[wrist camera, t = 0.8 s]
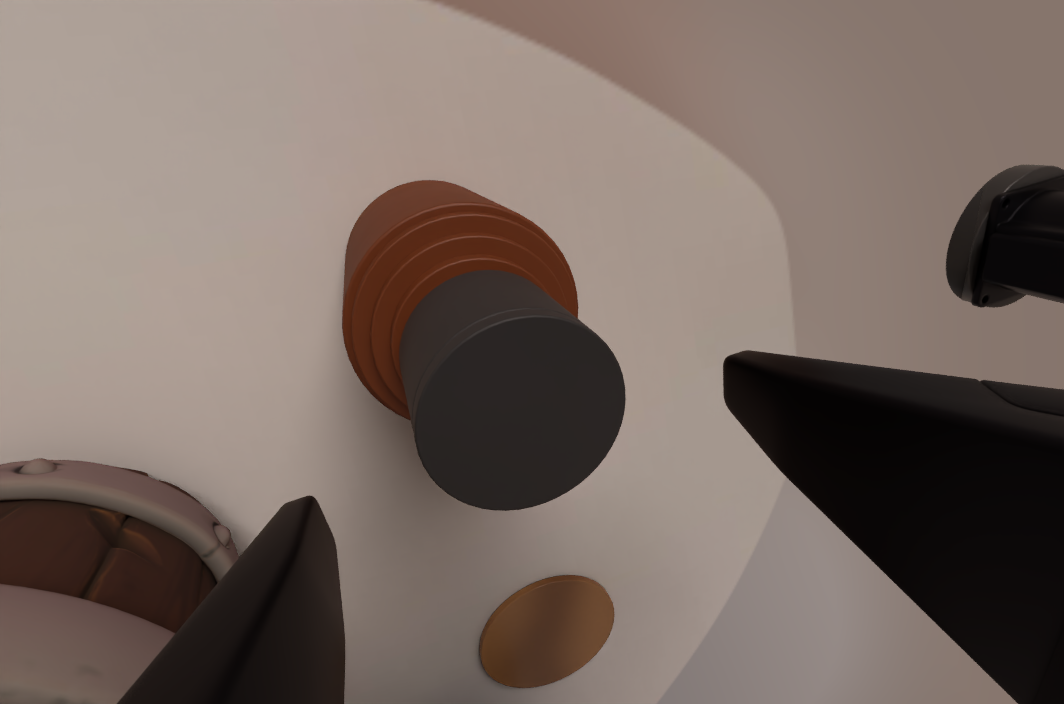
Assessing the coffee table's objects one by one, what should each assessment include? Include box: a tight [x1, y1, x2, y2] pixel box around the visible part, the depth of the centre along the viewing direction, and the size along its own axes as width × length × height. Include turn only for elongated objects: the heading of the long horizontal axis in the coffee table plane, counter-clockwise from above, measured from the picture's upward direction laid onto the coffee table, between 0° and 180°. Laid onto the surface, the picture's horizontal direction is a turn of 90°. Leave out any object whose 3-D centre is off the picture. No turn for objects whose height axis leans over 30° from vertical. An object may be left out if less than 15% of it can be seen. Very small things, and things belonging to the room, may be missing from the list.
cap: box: [399, 270, 625, 511], centre depth 11 cm, size 4×4×3 cm
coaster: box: [480, 575, 614, 688], centre depth 30 cm, size 8×8×1 cm
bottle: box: [342, 180, 578, 420], centre depth 15 cm, size 6×6×12 cm
